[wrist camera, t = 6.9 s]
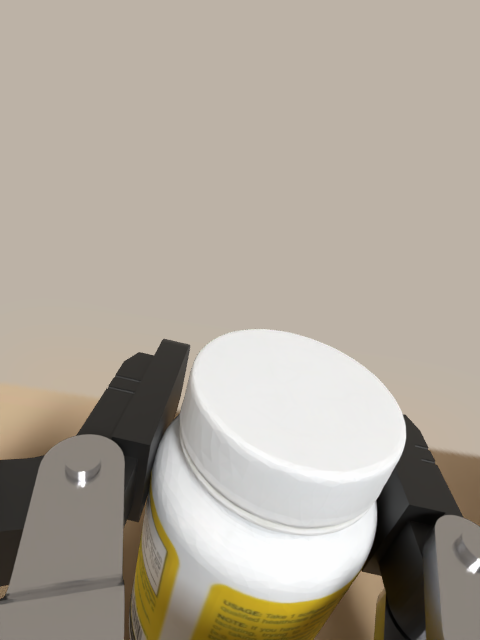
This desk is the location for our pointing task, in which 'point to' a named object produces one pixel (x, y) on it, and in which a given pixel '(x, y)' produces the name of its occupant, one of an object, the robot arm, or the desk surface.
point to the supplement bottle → (263, 491)
